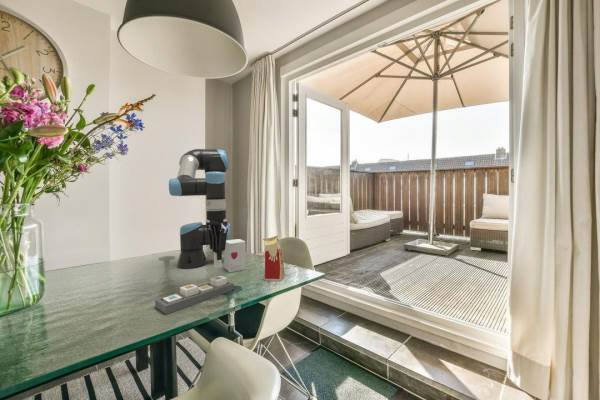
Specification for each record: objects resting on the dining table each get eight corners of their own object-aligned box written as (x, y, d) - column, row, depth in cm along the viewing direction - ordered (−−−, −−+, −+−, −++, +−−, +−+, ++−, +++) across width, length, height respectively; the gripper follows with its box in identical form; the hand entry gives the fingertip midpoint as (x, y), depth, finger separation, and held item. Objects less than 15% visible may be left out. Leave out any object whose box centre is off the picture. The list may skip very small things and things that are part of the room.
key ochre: (195, 294, 103) (195, 287, 103) (207, 290, 107) (206, 284, 106) (202, 297, 100) (202, 290, 100) (213, 293, 103) (213, 286, 103)
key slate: (210, 284, 108) (210, 278, 107) (220, 281, 111) (220, 275, 111) (216, 287, 104) (216, 280, 104) (227, 284, 108) (226, 277, 108)
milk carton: (284, 274, 127) (283, 233, 126) (281, 281, 118) (280, 237, 117) (266, 274, 128) (265, 233, 127) (261, 280, 119) (260, 237, 118)
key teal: (162, 305, 94) (162, 297, 93) (176, 301, 97) (176, 293, 97) (168, 309, 90) (168, 301, 90) (182, 304, 94) (182, 296, 94)
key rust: (180, 294, 98) (179, 287, 98) (192, 290, 102) (192, 283, 102) (186, 297, 95) (185, 290, 95) (198, 293, 99) (198, 286, 99)
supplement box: (229, 272, 132) (228, 243, 131) (223, 268, 139) (223, 240, 138) (246, 269, 137) (245, 241, 136) (240, 265, 144) (239, 238, 143)
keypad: (155, 307, 94) (154, 299, 93) (221, 285, 114) (221, 279, 114) (165, 314, 88) (165, 306, 88) (233, 290, 108) (233, 283, 108)
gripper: (199, 210, 108) (201, 266, 109) (216, 211, 100) (218, 272, 100) (215, 208, 114) (217, 262, 115) (233, 209, 105) (235, 268, 106)
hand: (218, 267), depth 107 cm, fingers closed
